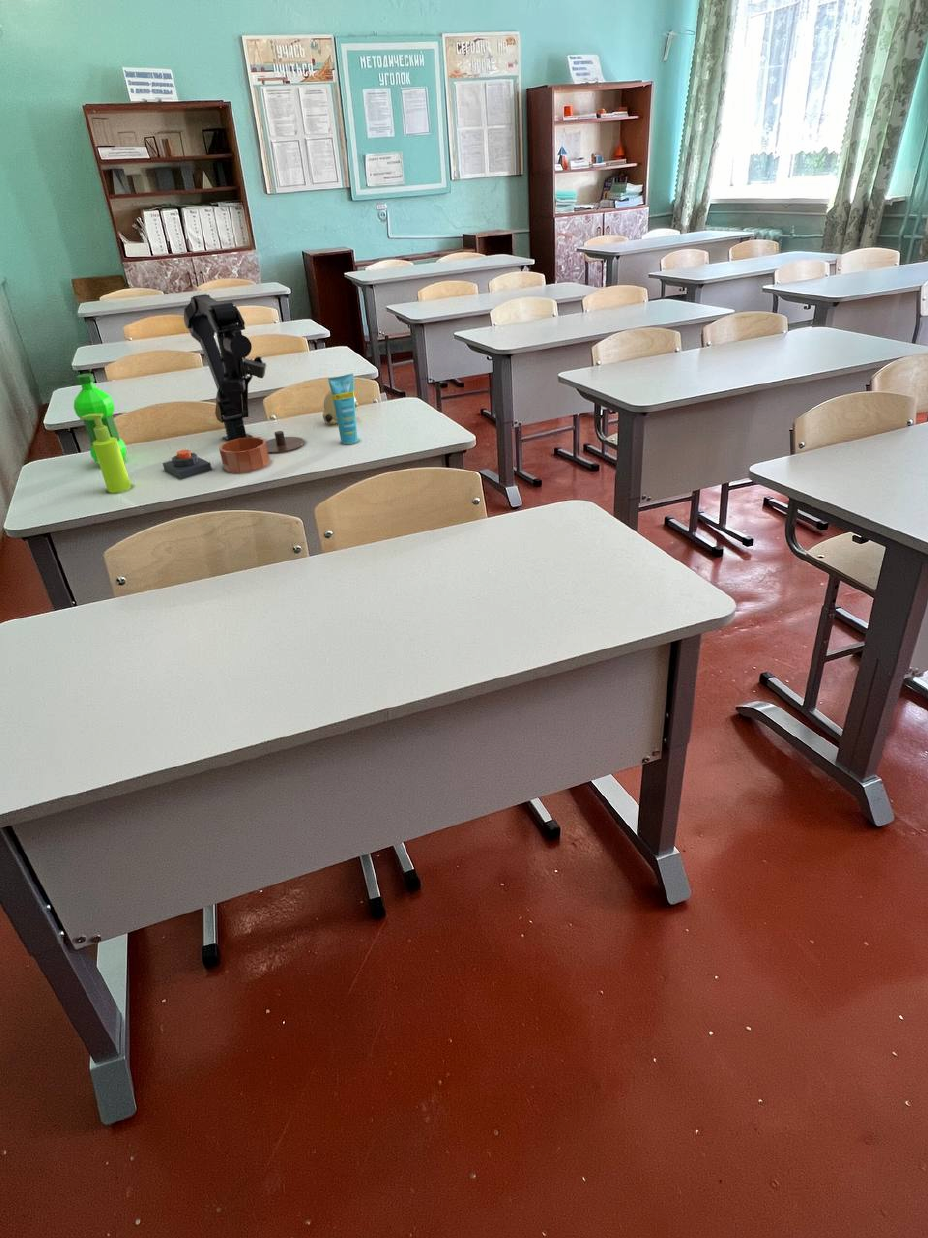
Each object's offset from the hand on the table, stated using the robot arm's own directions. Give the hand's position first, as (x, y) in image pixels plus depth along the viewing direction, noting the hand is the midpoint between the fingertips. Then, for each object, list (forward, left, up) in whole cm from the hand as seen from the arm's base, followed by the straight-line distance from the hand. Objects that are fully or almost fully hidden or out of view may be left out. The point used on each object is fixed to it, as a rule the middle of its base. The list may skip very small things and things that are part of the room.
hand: (243, 408), depth 217 cm
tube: (+19, +22, -12) cm, 32 cm away
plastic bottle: (-23, -33, -12) cm, 42 cm away
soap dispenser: (0, -40, -12) cm, 42 cm away
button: (+2, -21, -8) cm, 23 cm away
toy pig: (0, +32, -12) cm, 34 cm away
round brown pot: (+12, -8, -12) cm, 19 cm away
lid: (+5, +7, -12) cm, 15 cm away
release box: (+2, -21, -12) cm, 24 cm away
